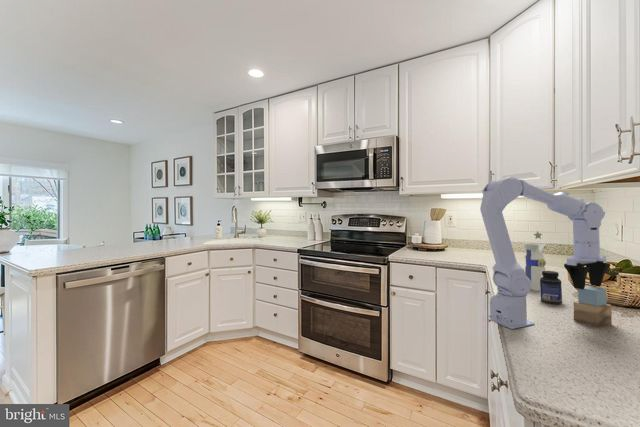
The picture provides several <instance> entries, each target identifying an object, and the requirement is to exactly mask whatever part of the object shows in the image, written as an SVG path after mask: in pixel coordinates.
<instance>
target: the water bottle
mask: <svg viewBox="0 0 640 427" xmlns="http://www.w3.org/2000/svg"><path fill="white" fill-rule="evenodd" d="M533 235H534V236H535V239H536V240H537V239H540V240H541V239H542V237H541V236H542V235H543V233H540V232H539V231H536V233H533ZM522 248H523V249H525V256H524V259H525V265H524V272H525V274H526V276H527V277H528V278H529V279H530V281H531V284H532V287H531V290H530V291H535V292H536V291H539V292H540V279H541V278H542V277H543V275H542V271H547V270H546V264H547V262H546V260H545V258H546V257H545V256H544V249H545V250H547V244H546V243H542V242H524V243H523V245H522Z"/></svg>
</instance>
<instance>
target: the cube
mask: <svg viewBox="0 0 640 427" xmlns="http://www.w3.org/2000/svg"><path fill="white" fill-rule="evenodd" d="M577 294H578V296H577V298H578V300H577V301H578V302H580V303H584V304H588V305H593V306H597V307H598V306H602V305H607V304H608V303H607V299H608V298H607V288H602V287H601V288H600V287H598V286H592V285H590V286H589V285H585V288H584V289H578V288H577Z"/></svg>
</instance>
